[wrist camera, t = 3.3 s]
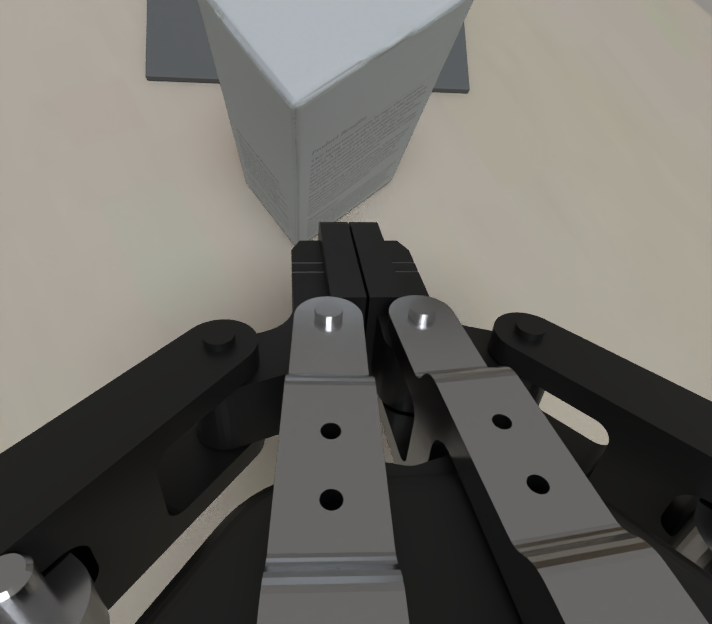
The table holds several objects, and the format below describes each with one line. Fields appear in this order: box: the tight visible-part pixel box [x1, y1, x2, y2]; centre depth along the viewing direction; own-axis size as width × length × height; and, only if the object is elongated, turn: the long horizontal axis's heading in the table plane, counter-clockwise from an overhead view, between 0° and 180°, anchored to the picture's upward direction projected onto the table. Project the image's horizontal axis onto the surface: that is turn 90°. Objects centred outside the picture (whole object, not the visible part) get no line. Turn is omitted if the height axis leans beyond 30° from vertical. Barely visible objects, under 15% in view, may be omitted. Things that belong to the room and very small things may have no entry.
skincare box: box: [198, 0, 473, 245], centre depth 17 cm, size 6×4×12 cm
